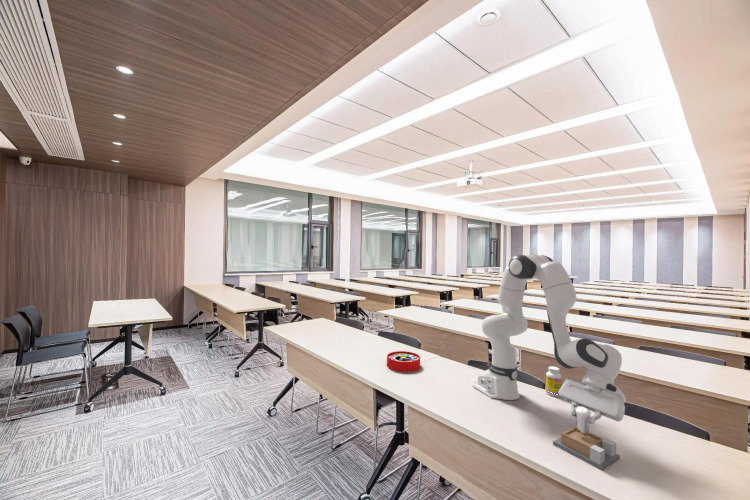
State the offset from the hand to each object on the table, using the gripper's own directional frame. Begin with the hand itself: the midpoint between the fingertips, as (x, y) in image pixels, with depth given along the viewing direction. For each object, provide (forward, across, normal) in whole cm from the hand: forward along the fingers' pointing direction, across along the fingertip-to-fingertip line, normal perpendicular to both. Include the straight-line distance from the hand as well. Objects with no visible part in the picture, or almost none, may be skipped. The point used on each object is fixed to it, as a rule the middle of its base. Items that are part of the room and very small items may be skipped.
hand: (581, 419), depth 114 cm
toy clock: (+12, -98, +4) cm, 98 cm away
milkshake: (+4, 0, +4) cm, 6 cm away
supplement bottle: (-18, -31, +34) cm, 49 cm away
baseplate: (+7, +1, +8) cm, 11 cm away
